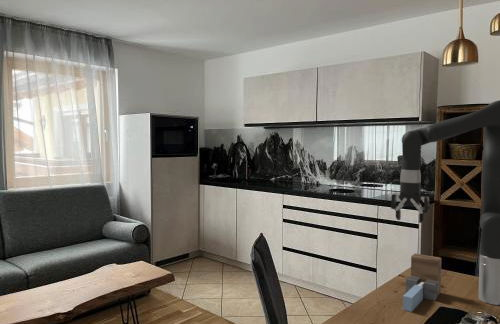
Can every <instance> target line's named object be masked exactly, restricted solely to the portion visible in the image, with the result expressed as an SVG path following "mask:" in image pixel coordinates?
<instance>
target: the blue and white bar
mask: <svg viewBox="0 0 500 324" xmlns="http://www.w3.org/2000/svg"><path fill="white" fill-rule="evenodd" d="M423 300H424V282H420V283H419V284H418V285H414V286H413V287H412V288H411V289H410V290H409V291H408V292H407V293H406V292H405V293H404V294H403V295H402V310H403V311H405V312H411V313H412V312H413V311H414V310H415V309H416V308H417V307H418V306H419V305H420V303H422V301H423Z"/></svg>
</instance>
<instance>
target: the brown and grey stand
mask: <svg viewBox="0 0 500 324" xmlns="http://www.w3.org/2000/svg"><path fill="white" fill-rule="evenodd" d="M410 258H411V259H410V275H409V276H408V277H407V278H405V294H406V293H407V292H408V291H409V290H410V289H411V288H412V287H413V286H414V285H418V284H419V283H420V282H424V296H423V299H426V300H428V301H429V300H430V301H434V302H435V301H436V300H437V299H438V297H439V295H440V294H441V293H442V292H441V291H442V289H441V286H442V257H439V256H432V255H425V254H421V253H414V254H411V256H410Z"/></svg>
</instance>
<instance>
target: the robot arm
mask: <svg viewBox="0 0 500 324" xmlns="http://www.w3.org/2000/svg"><path fill="white" fill-rule="evenodd" d="M482 128H483V133H484V143H483V149H482V150H483V151H482V163H481V186H482V196H483V197H482V207H481V213H480V214H481V215H480V219H479V228H480V229H481V243H480V246H479V269H478V296H477V297H478V299H479V300H480V301H482V302H483V303H487V304H490V305H495V306H500V100H495V101H493V102H490V103H489V104H488V105H486V106H485V107H483V108H481V109H478V110H475V111H474V112H471V113H468V114H464V115H460V116H456V117H452V118H448V119H444V120H441V121H438V122H433V123H432V124H429V125H427V126H425V127H424V126H423V127H420V128H417V129H413V130H409V131H407V132H405V133H403V135H402V137H401V143H402V145H401V146H402V147H401V149H402V151H401V152H402V154H401V155H402V156H401V167H400V178H399V180H400V182H399V183H400V184H399V186H400V187H399V194H397V193H393V194H392V195H391V203H390V209H392V210H394V211H395V219H396V220H397V221H400V220H401V216H402V215H401V209H402V208H403V207H410V208H411V207H412V208H413V207H415V209H416V210H417V211H418V212H419V214H418V223H420V224H422V223H423V222H424V221H425V213H428V212H430V197H429V196H421V186H422V185H421V184H422V183H421V181H422V180H421V179H422V177H421V176H422V174H421V151H422V146H425V145H427V144H429V143H436V142H439V141H443V140H446V139H450V138H453V137H456V136H459V135H461V134H464V133H468V132H471V131H474V130H477V129H482ZM398 199H399V201H400V202H399V203H398V205H397V200H398ZM421 201H422V202H423V203H424V208H423V207H422V204H421V203H420V202H421Z"/></svg>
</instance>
